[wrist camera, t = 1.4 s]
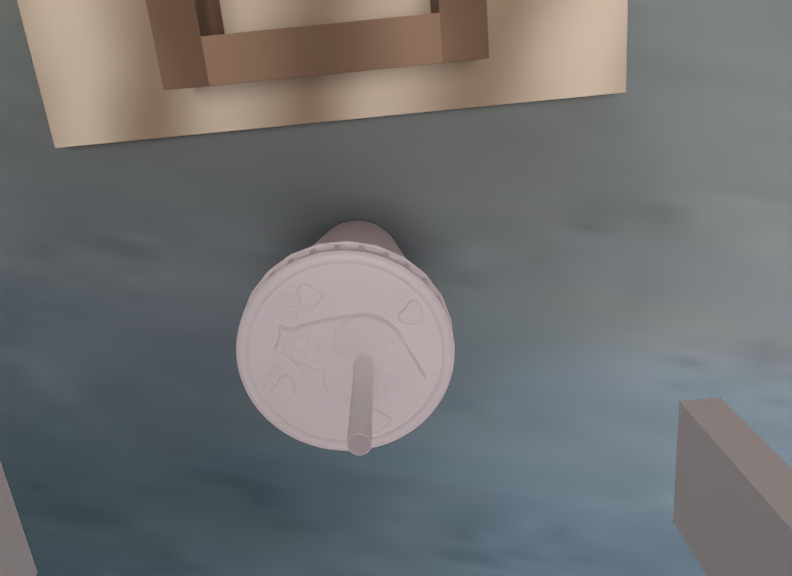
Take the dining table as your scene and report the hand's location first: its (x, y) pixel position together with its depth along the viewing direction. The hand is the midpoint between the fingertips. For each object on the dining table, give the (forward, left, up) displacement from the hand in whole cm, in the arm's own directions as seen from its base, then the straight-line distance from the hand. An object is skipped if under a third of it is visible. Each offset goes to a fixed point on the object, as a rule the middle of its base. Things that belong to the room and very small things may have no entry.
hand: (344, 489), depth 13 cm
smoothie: (0, 0, -16) cm, 16 cm away
